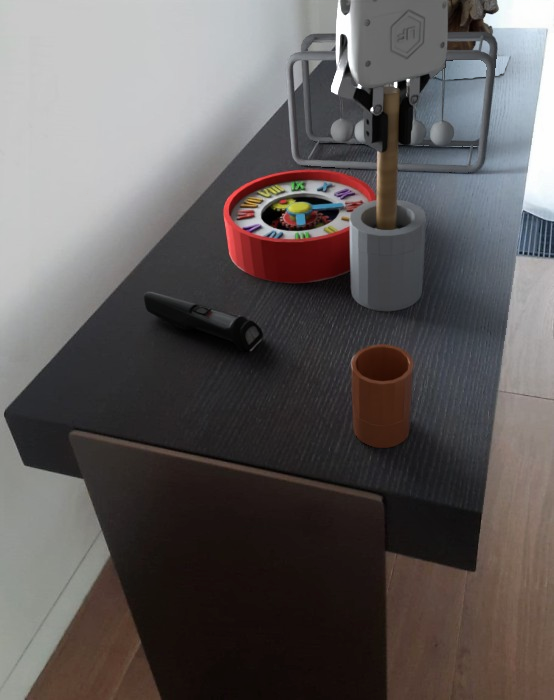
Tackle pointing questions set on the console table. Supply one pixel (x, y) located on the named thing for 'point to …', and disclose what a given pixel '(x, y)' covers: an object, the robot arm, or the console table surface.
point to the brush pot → (382, 395)
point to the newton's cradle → (439, 131)
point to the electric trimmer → (205, 320)
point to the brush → (388, 164)
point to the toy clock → (294, 224)
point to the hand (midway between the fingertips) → (387, 143)
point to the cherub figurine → (468, 20)
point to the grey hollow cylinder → (387, 257)
